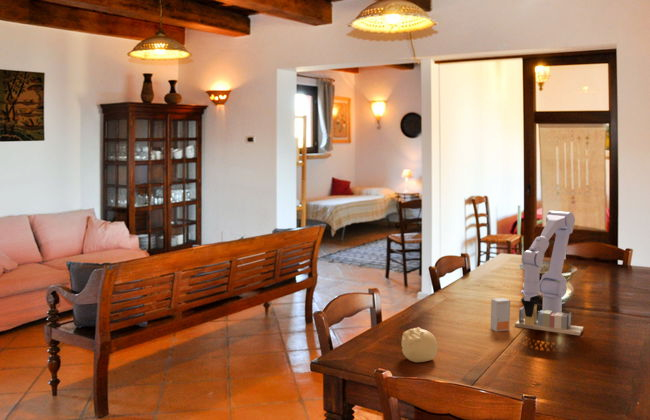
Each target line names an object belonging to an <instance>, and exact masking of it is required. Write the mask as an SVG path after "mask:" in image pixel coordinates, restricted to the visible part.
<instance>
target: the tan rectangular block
mask: <svg viewBox="0 0 650 420" xmlns="http://www.w3.org/2000/svg"><path fill="white" fill-rule="evenodd" d="M537 307H538V304H535V305H534V309H533V314H532V317H527V316H526V314H525V313H524V319H525V324H533V325H534V324H535V323H536V322H537V321H538V313H537V312H538V311H537Z"/></svg>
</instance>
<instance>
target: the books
mask: <svg viewBox="0 0 650 420" xmlns="http://www.w3.org/2000/svg"><path fill="white" fill-rule="evenodd" d="M542 310H543V309H541V310H539V312H538V313H537V325H538V326H545V327H552V328H559V329H567V315H568V314H569V313H567V312H557V313H553V312H552V311H550V310H545V311H542Z"/></svg>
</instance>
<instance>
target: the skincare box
mask: <svg viewBox="0 0 650 420" xmlns="http://www.w3.org/2000/svg"><path fill="white" fill-rule="evenodd" d="M490 303H491V304H490V329H491V330H492V331H495V332H503V331H504V332H505V331H510V317H511V300H510V299H508V298H506V297H502V298H501V297H499V298H491V301H490Z"/></svg>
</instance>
